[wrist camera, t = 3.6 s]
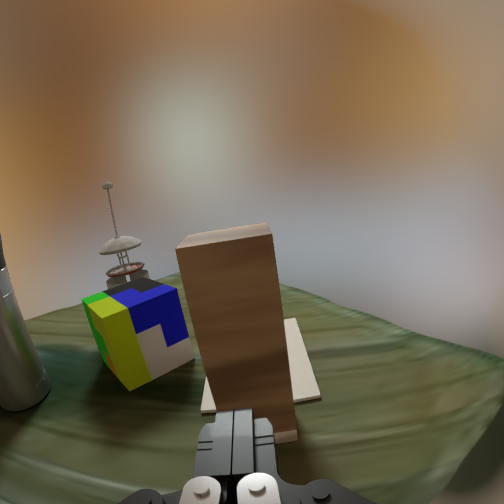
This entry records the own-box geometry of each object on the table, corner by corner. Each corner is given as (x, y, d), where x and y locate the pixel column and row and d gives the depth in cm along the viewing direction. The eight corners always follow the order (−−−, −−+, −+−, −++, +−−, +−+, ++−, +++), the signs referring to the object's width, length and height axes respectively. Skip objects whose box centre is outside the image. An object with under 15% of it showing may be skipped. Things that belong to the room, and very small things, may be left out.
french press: (114, 335, 49) (75, 187, 43) (113, 312, 59) (84, 189, 53) (167, 321, 52) (135, 173, 46) (159, 300, 63) (132, 178, 57)
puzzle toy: (194, 358, 40) (176, 288, 37) (129, 391, 33) (101, 318, 31) (159, 336, 47) (143, 276, 45) (104, 362, 41) (81, 299, 38)
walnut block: (297, 440, 24) (272, 233, 19) (228, 448, 24) (175, 248, 19) (291, 408, 28) (267, 222, 24) (230, 416, 28) (187, 235, 24)
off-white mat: (320, 397, 29) (320, 394, 29) (201, 413, 29) (200, 410, 29) (295, 320, 46) (295, 317, 46) (215, 331, 46) (214, 329, 46)
